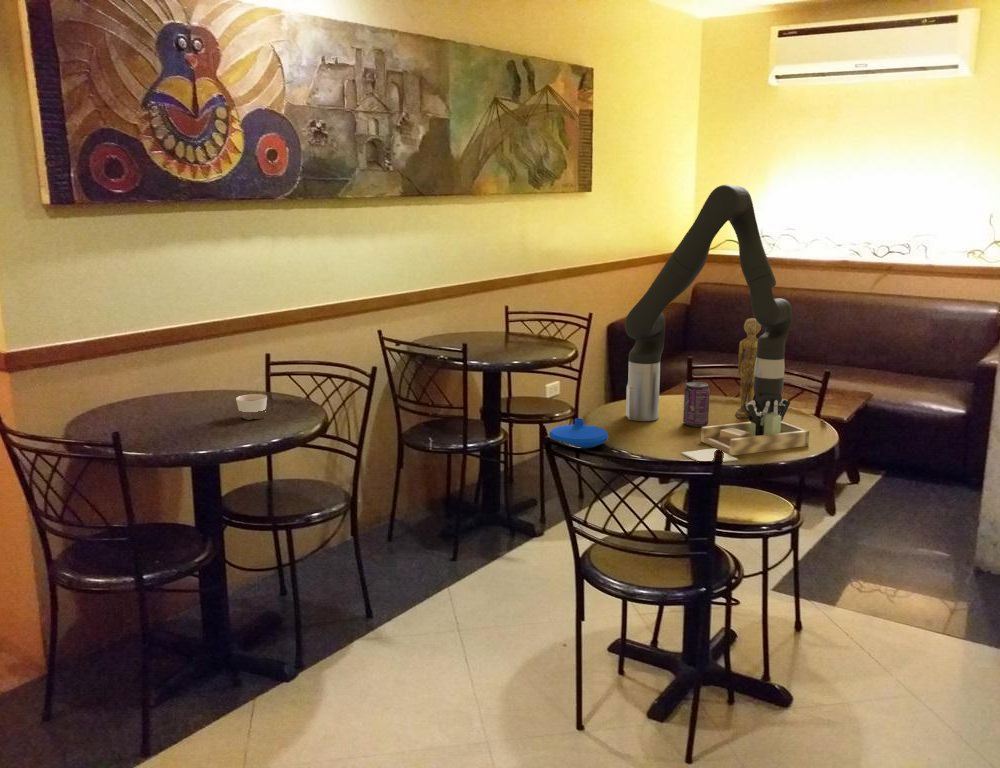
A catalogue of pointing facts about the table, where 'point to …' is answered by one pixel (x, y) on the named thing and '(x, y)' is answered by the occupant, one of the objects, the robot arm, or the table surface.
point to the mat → (707, 455)
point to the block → (769, 424)
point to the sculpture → (747, 364)
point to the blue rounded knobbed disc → (579, 434)
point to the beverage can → (696, 404)
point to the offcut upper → (733, 434)
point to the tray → (756, 438)
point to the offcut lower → (724, 441)
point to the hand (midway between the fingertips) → (764, 437)
